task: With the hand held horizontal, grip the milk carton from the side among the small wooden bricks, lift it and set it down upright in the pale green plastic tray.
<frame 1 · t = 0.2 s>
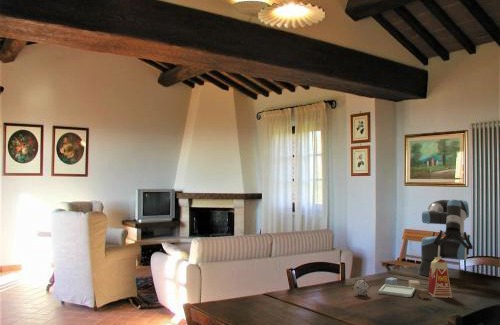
hand: (451, 258, 249), 15 cm above the table, tool tilted 35°, fingers open, 13 cm apart
milk carton: (439, 295, 230), on the table
slate-blue brick: (391, 286, 249), on the table
maple brick: (414, 289, 243), on the table
walnut brick: (422, 297, 225), on the table
game die: (361, 295, 228), on the table
tray: (397, 292, 235), on the table
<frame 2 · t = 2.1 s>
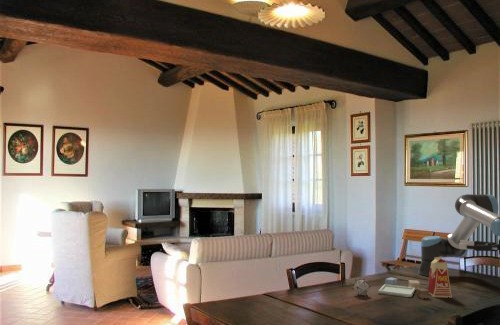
hand: (459, 244, 227), 26 cm above the table, tool horizontal, fingers open, 13 cm apart
nothing on the table moved.
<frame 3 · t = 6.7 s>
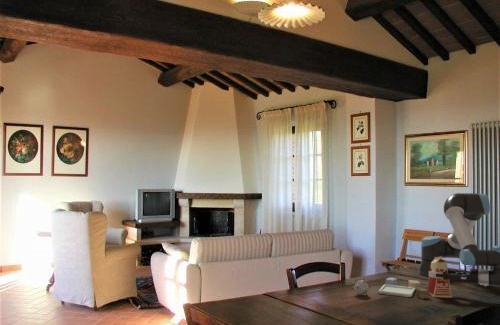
hand: (429, 272, 232), 11 cm above the table, tool horizontal, fingers closed on milk carton, 9 cm apart
milk carton: (439, 295, 230), on the table, touching gripper
everything else where it was.
when the fingers open (13 cm above the table, at t = 12.1 s): milk carton drops 1 cm, resting on tray.
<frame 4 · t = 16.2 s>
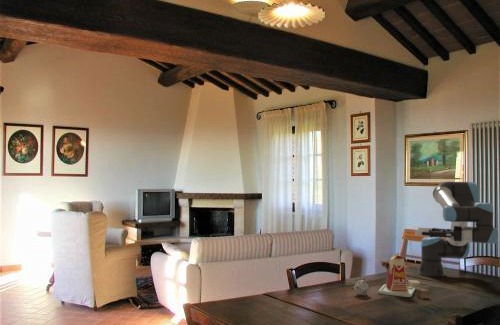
hand: (416, 231, 232), 32 cm above the table, tool horizontal, fingers open, 13 cm apart
milk carton: (397, 291, 235), resting on tray
everything else where it was.
at the end: milk carton 0.2 cm from the tray (horizontally); milk carton tilted 0°; the gripper is holding nothing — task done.
